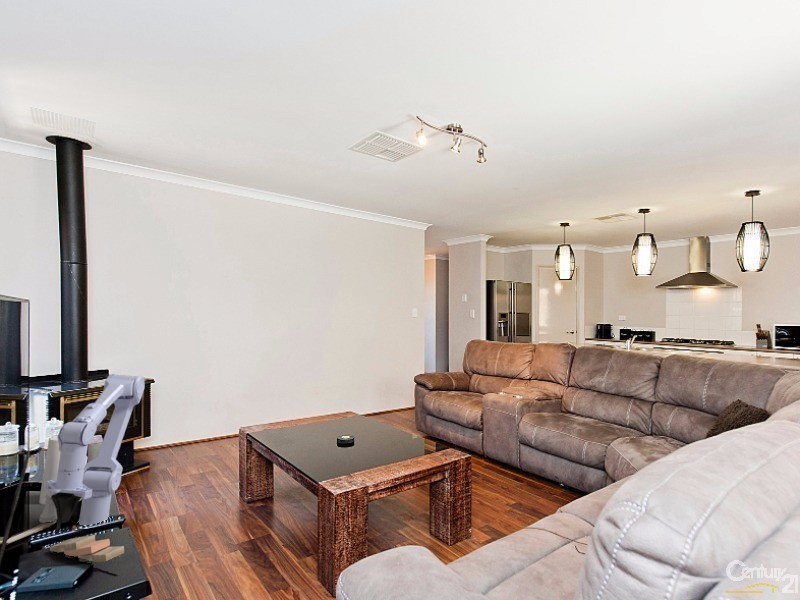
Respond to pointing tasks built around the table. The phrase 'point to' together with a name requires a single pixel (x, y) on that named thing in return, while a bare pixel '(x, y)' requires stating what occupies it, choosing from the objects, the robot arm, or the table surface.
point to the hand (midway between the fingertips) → (63, 521)
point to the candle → (51, 466)
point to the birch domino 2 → (104, 554)
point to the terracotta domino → (89, 548)
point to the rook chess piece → (48, 510)
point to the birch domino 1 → (73, 544)
